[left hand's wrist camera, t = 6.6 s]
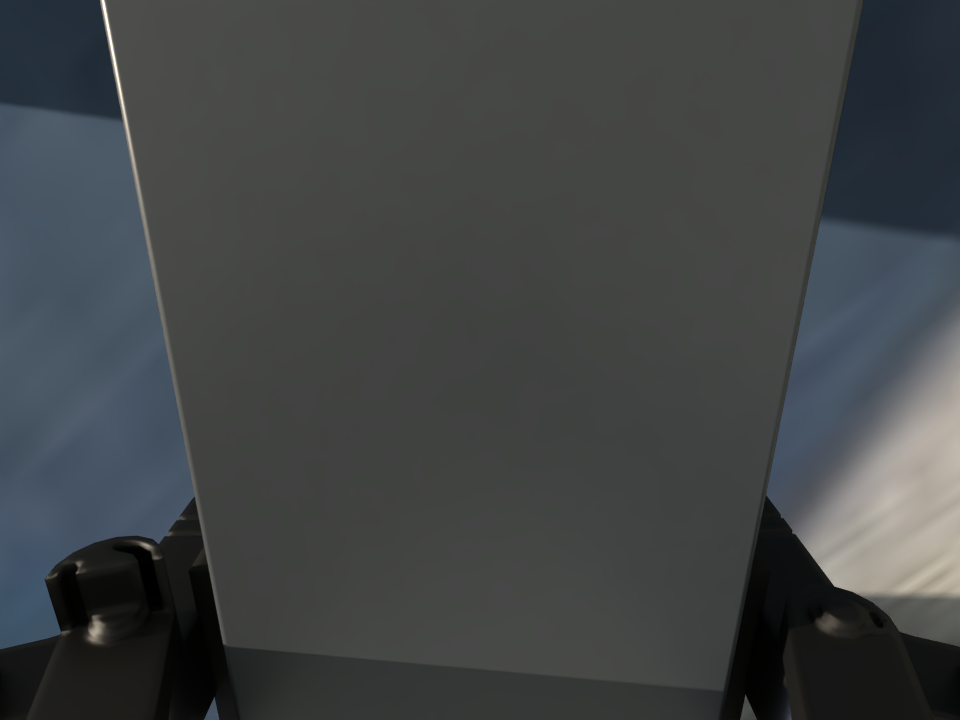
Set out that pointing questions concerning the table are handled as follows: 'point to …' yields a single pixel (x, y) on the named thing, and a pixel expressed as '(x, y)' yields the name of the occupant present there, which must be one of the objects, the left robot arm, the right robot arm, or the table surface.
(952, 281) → the table surface
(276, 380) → the post
